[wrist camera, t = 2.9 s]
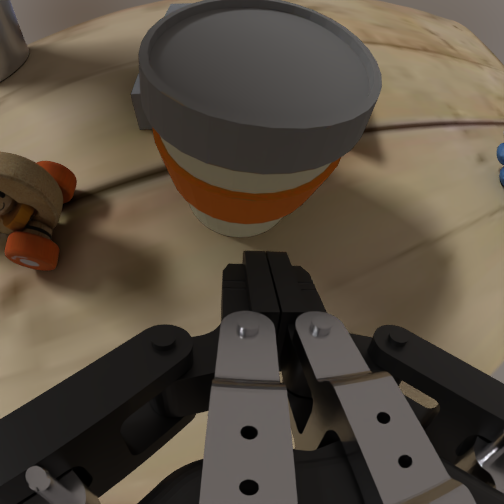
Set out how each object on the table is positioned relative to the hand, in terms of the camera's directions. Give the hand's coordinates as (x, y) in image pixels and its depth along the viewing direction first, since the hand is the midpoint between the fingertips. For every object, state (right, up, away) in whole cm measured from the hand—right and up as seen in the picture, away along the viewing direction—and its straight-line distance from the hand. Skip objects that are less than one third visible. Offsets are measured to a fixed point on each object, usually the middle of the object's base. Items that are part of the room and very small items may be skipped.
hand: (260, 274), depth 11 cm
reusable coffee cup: (-1, +6, +15) cm, 17 cm away
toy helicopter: (-24, +3, +12) cm, 27 cm away
